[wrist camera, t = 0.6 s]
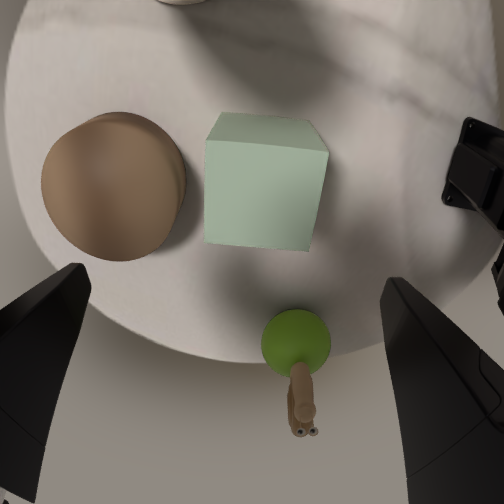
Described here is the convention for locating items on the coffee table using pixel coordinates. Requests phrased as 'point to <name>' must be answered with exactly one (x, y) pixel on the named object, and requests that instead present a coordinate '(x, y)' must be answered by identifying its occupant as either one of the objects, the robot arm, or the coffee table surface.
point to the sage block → (262, 181)
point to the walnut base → (114, 186)
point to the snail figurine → (297, 361)
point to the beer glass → (181, 2)
